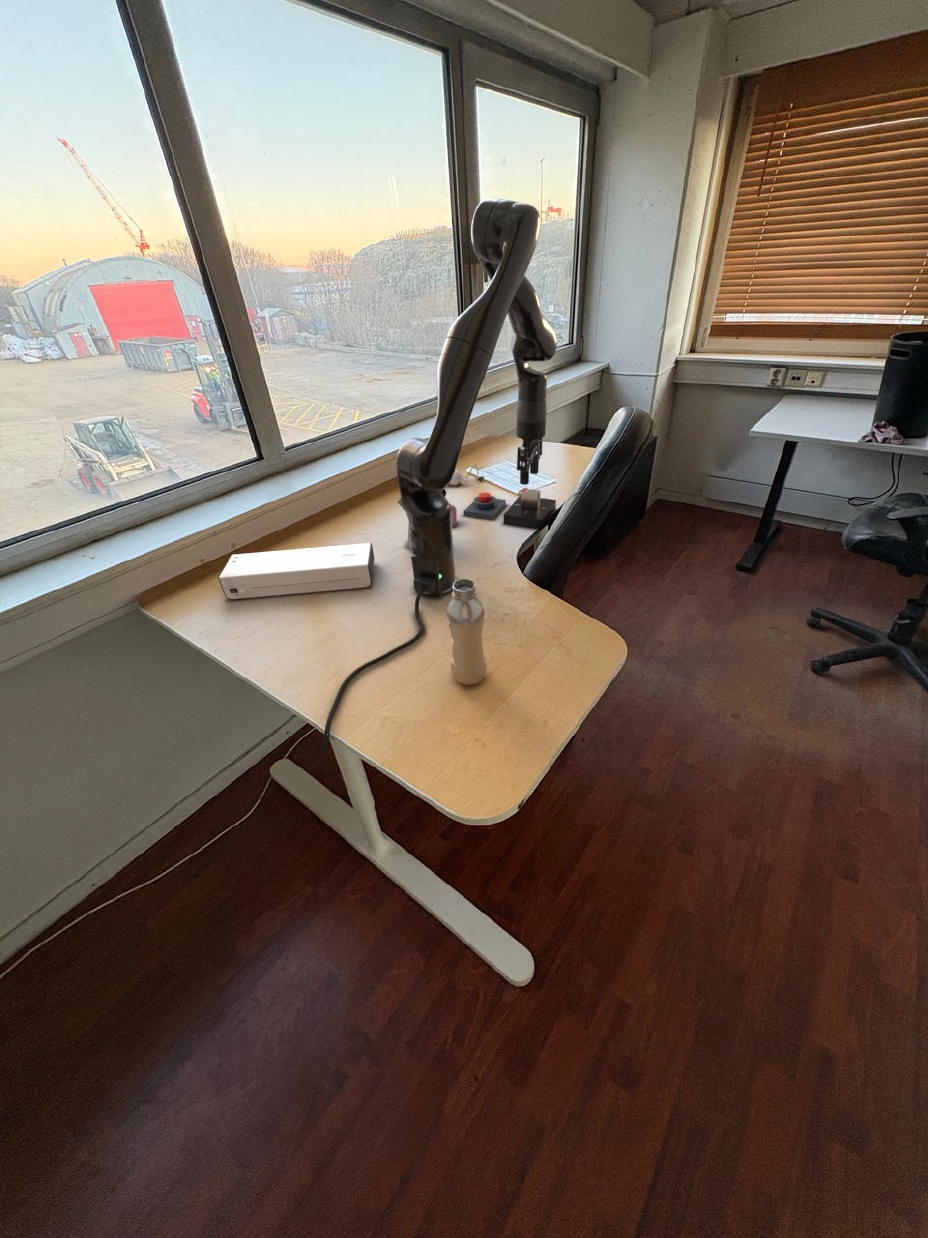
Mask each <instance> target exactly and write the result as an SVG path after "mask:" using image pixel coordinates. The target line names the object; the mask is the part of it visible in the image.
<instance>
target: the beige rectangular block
mask: <svg viewBox="0 0 928 1238" xmlns="http://www.w3.org/2000/svg"><path fill="white" fill-rule="evenodd" d="M520 496H521V507H523V508H530V509H538V508H539V507H540V498H541V490H539V489H531V488H528V487H523V488H522V489H521V491H520Z"/></svg>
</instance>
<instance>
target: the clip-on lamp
mask: <svg viewBox="0 0 928 1238" xmlns="http://www.w3.org/2000/svg"><path fill="white" fill-rule="evenodd" d="M475 467H476V476H477V481H482V480H484V479H485V476H483V475H481V476H480V475H479V467H478V464H476V463H475V464H473V465H472V467H470V470H469V472H468V473H467V475H463V474H462V473H461V471H460V470H459V469H457V468H456V469H455V472H454V475H453V477H452V479H451V481H450V483H449V484H450V485H451V486H458V485H459V484H460V483H462V482H463V480H464V479H465V478H468V477H469V476H470V475H471V473H472V470H473V469H474V468H475Z"/></svg>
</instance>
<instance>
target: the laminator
mask: <svg viewBox="0 0 928 1238" xmlns="http://www.w3.org/2000/svg"><path fill="white" fill-rule="evenodd" d="M373 548H374V547H373V543H372V542H365V543H353V544H342V545H333V546H332V545H331V546H318V547H308V548H307V547H306V548H293V549H285V550H284V549H283V550H273V551H259V552H249V553H238V554H237V553H236V554H231V555H230V557H229V559H228V560H227V562H226V563H225V565H224V567H223V569H222V570H221V572H220V574H219V576H218V577H217V579H218V581H219V584H220V587H221V589H222V592H223V594H224V596H225V597H226V598H227V599H228V600H231V601H237V600H248V599H260V598H269V597H271V598H272V597H282V596H294V595H304V594H315V593H317V594H318V593H326V592H327V593H328V592H338V591H349V590H351V591H352V590H360V589H367V588H368V589H369V588H370V587H371V586H372V584H373V581H372V580H373V572H374V565H375V564H374V563H375V553H374V549H373Z"/></svg>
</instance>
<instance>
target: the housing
mask: <svg viewBox="0 0 928 1238" xmlns="http://www.w3.org/2000/svg"><path fill="white" fill-rule="evenodd" d="M506 505H507V501H506V499H502V498H501V499H500V498H496V497H495V496H493V495H491V501H490V502H479V495H478V496H475V497H474V498H473V500H472V502H471V503H470V504H469V505H468V506H467V507H466V508H464V510H463V517H469V518H476V519H483V520H490V521H493V520H494V519H495V518H496V517H497V515H498V514H499V513H500V512H501V511H502V510H503V509H504V507H506Z"/></svg>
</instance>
